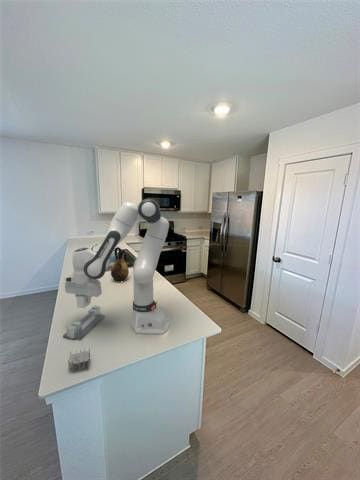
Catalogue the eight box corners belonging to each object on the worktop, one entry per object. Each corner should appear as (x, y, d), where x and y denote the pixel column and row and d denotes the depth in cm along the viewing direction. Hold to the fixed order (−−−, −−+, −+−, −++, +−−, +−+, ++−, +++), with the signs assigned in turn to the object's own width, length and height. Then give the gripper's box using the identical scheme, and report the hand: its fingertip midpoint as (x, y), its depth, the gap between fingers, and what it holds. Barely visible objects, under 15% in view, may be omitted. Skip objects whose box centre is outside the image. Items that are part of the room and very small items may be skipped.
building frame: (89, 369, 83) (89, 357, 82) (68, 374, 80) (67, 362, 79) (90, 358, 89) (90, 347, 88) (70, 363, 86) (69, 351, 85)
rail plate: (105, 316, 122) (104, 306, 120) (79, 341, 99) (78, 329, 98) (90, 314, 123) (89, 304, 122) (62, 338, 101) (61, 326, 100)
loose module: (90, 303, 111) (90, 292, 110) (83, 308, 106) (83, 297, 105) (84, 302, 112) (83, 291, 111) (77, 307, 106) (76, 296, 105)
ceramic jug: (132, 279, 181) (132, 247, 176) (119, 285, 168) (118, 250, 163) (119, 275, 190) (118, 245, 184) (106, 280, 176) (104, 247, 171)
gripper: (103, 277, 107) (104, 301, 110) (70, 273, 111) (71, 296, 113) (96, 282, 101) (97, 307, 104) (61, 277, 105) (63, 302, 107)
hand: (83, 301), depth 109 cm, fingers closed on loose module, 4 cm apart
